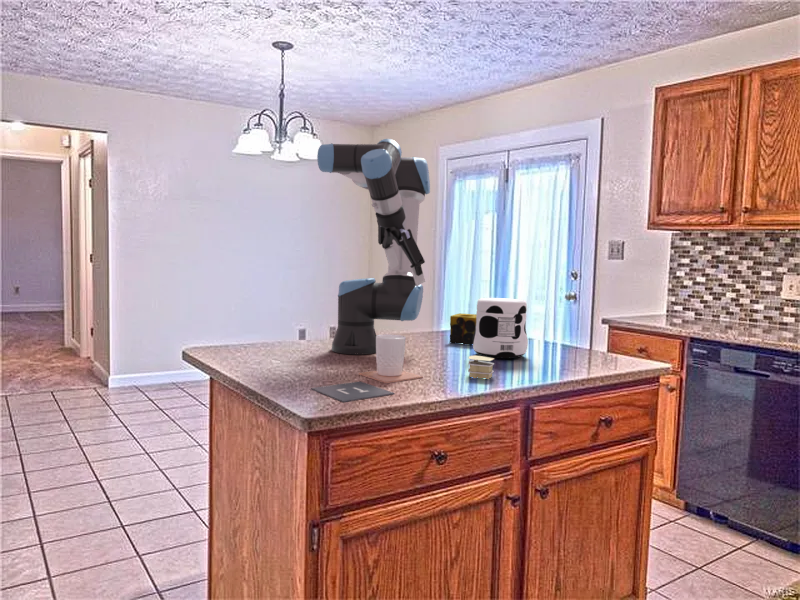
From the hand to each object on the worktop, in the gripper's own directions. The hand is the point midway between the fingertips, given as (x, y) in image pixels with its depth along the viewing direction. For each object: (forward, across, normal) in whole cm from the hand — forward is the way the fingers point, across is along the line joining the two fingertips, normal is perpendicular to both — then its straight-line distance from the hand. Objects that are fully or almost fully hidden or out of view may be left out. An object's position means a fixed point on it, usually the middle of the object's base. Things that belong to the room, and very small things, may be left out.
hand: (407, 274), depth 175 cm
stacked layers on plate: (+22, +28, -1) cm, 35 cm away
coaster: (+14, +16, -20) cm, 30 cm away
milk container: (+40, +8, +20) cm, 45 cm away
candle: (+50, -16, +24) cm, 58 cm away
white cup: (+14, +16, -20) cm, 29 cm away
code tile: (+3, +26, -34) cm, 43 cm away
